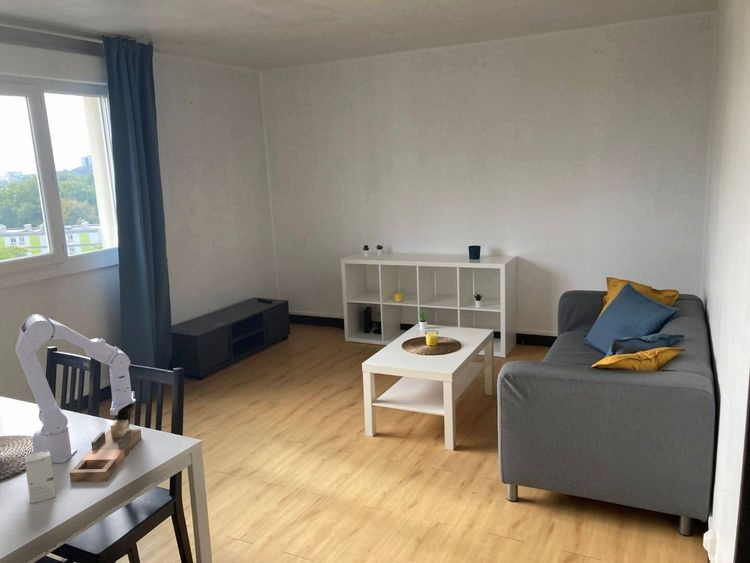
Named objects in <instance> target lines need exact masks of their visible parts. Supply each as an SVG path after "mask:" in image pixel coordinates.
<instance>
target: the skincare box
mask: <svg viewBox="0 0 750 563" xmlns="http://www.w3.org/2000/svg"><path fill="white" fill-rule="evenodd" d="M23 458H24V463H25V464H24V466H25V473H26V481H27V488H28V489H27V490H28V497H29V502H30V504H34V503H35V504H36V503H39V502H43V501H47V500H50V499H53V498H55V497H56V490H55V481H54V473H53V471H54V470H53V463H52V462H51V455H50V451H49V450H47V451H42V452H37V453H34V452H33V453H29V454H25V455H24V457H23Z"/></svg>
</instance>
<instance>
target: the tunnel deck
mask: <svg viewBox="0 0 750 563" xmlns="http://www.w3.org/2000/svg"><path fill="white" fill-rule="evenodd" d="M140 440H142V431H141V428H136V429H135V428H133V429H130V428H129V431H127V432H126V433H125V434H124V435H123V437H114V438H112V435H111V429H109V430H108V431H107V432H106V433H105V431H101V432H100V433H99V434H98V435H97V436H96V437H95V438H94V439H93V440H91V449H90V450H89V451H88V453H87V454H86V455H85V456H83V458H81V460H80V461H79V462H78V463H77V464H76V465H75V466H74V467H73V468H72V469H71V470H70V471H69V478H70V483H96V482H99V483H101V482H104V483H105V482H108V480H109V479H110V478H111V477H112V475H113V474H114V473H115V472H116V471H117V469H118V468H119V466H120V465H121V464H122V463H123V462H122V461H124V460H125V459H126V458H127V457H128V456H129V454H130V451H131V452H132V450H133V449H134V448H135V447H136V445H137V444H138V443H139V442H138V441H140ZM134 446H135V447H134ZM126 456H127V457H126Z"/></svg>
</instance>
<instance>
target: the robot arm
mask: <svg viewBox="0 0 750 563" xmlns="http://www.w3.org/2000/svg"><path fill="white" fill-rule="evenodd" d="M50 338H51V340H59V339H62V340H64V341H66V342H69V343H71V344H73V345H76V347H79V348H82V349H83V350H84V353H85V355H86V356H88V357H90V358H92V359H94V360H95V361H98V362H100V363H101V364H104V365H107V366H109V367H108V368H109V380H110V382H109V383H110V389H111V398H112V401H111V407H110V409H109V414H110V416H115V417H116V419H117V420H128V423H129V426H130V424H131V417H132V412H133V409H134V407H135V403H136V401H137V400H136V398H135V391H132V385H131V378H130V377H131V376H130V372H129V367H130V365H131V360H130V357H129V356H128V355H127V354H126V353H125V352H124V351H122V349H120V348H119V347H117V346H112V345H111V344H108V343H106V340H105V339H104V338H92V339H89V338H88V337H86V336H84V335H83V334H80V333H78V332H77V331H75V330H74V329H71V328H70V327H68V326H66V325H64V324H63V323H60V322H58V321H56V320H54V319H51V318H49V317H48V318H46V317H45V316H44V315H42V314H38V313H37V314H31V315H29V316H28V317H27V318H26V319H25V320H24V322H22V324H21V325H20V328H19V334H18V338H17V342H16V344H15V349H14V350H15V353H16V357H17V358H18V360H19V363H20V365H21V369H22V370H23V372H24V375H25V377H26V380H27V382H28V384H29V387H30V389H31V392H32V394H33V396H34V399H35V401H36V404H37V407H38V409H39V410H38V411H39V412H38V419H39V421H40V422H41V423H42V426H41V428H40V429H38V430H36V431H35V432H34V433H33V436H32V449H33V450H32V451H33V453H37V452H42V451H47V450H49V451H50V455H51V462H52V464H55V463H66V462H68V460H69V459H70V458H71V457H72V456H73V455H74V454H75V453H76V452H77V451H78V448H72V446H71V440H70V432H69V425H68V424H69V420H68V417H67V416H66V415H65V414H64V413H63V410H62V408H61V407H60V406H59V405H58V403H57V401H56V399H55V396H54V394H53V392H52V390H51V387H50V385H49V382H48V380H47V377H46V375H45V373H44V370H43V368H42V365H41V363H40V360H39V357H38V356H37V352H38V351H39V349H40V348H41V346H42V345H43V344H45V343H46V342H47V341H48V340H50Z"/></svg>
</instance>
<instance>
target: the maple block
mask: <svg viewBox="0 0 750 563" xmlns="http://www.w3.org/2000/svg"><path fill="white" fill-rule="evenodd" d="M129 429H130V425H129V423H128V420H118V419H115V420H114V421H113V422H112V423H111V425H110V430H111V435H112V438H114V437H123V435H124V434H125V433H126V432H127V431H129Z"/></svg>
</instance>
